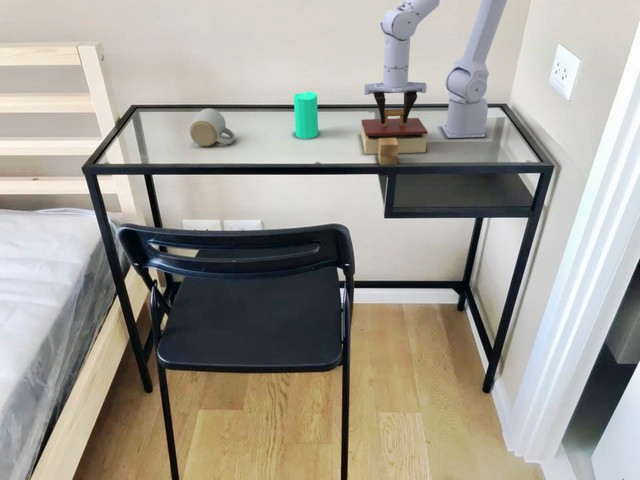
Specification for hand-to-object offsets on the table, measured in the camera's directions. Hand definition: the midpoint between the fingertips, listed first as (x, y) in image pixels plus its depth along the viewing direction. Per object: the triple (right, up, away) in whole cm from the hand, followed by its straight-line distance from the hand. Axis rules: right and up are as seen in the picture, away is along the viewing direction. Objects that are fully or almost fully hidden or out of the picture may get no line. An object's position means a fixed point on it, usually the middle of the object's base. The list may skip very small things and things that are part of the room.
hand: (393, 122), depth 130 cm
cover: (0, -1, +1) cm, 2 cm away
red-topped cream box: (0, -5, +4) cm, 6 cm away
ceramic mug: (-45, -3, +8) cm, 46 cm away
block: (-2, -10, -5) cm, 12 cm away
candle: (-21, -1, +10) cm, 24 cm away
